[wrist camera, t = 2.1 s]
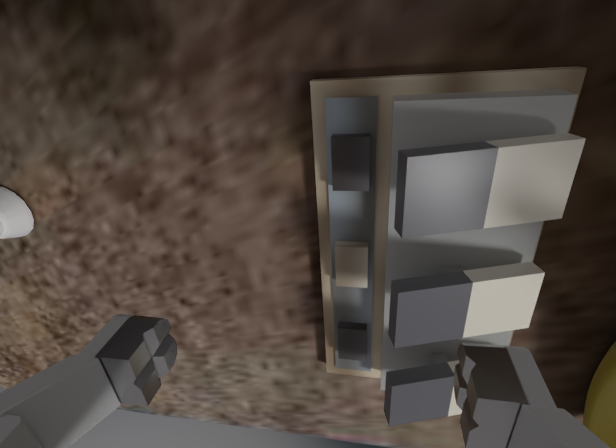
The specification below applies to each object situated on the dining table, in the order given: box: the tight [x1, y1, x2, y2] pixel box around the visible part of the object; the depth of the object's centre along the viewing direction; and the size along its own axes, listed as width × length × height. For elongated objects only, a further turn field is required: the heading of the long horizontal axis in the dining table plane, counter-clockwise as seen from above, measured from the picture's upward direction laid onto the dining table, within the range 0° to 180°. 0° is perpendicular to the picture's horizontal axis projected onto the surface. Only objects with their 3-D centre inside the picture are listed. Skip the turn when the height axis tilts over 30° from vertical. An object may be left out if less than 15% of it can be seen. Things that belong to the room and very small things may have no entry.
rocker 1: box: [384, 353, 462, 426], centre depth 27 cm, size 9×4×2 cm, turn 94°
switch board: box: [310, 66, 587, 378], centre depth 26 cm, size 15×26×2 cm, turn 4°
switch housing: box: [381, 89, 578, 390], centre depth 25 cm, size 9×24×2 cm, turn 4°
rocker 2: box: [394, 133, 586, 239], centre depth 19 cm, size 9×4×2 cm, turn 94°
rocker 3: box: [388, 261, 545, 348], centre depth 23 cm, size 9×4×2 cm, turn 94°
